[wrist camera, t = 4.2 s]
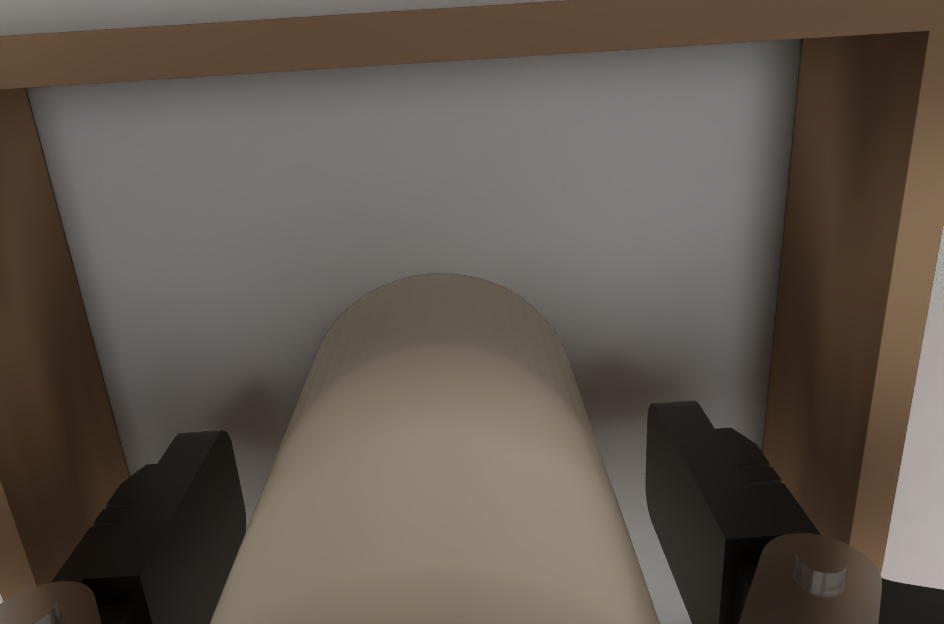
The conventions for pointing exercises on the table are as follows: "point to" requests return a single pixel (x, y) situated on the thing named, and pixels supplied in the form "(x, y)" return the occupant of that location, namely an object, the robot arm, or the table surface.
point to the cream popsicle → (438, 477)
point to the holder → (512, 35)
